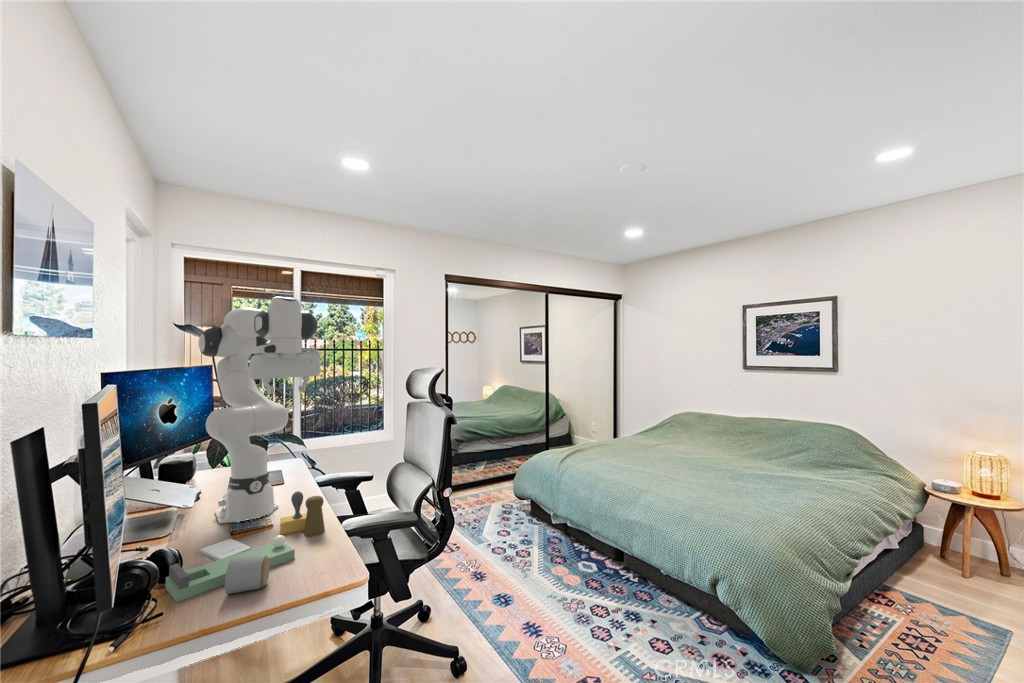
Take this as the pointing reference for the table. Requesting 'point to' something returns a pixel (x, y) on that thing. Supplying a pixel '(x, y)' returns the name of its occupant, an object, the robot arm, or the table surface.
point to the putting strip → (217, 571)
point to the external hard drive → (224, 549)
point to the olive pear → (314, 516)
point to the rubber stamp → (294, 517)
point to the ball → (279, 541)
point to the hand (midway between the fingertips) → (286, 392)
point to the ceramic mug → (247, 573)
